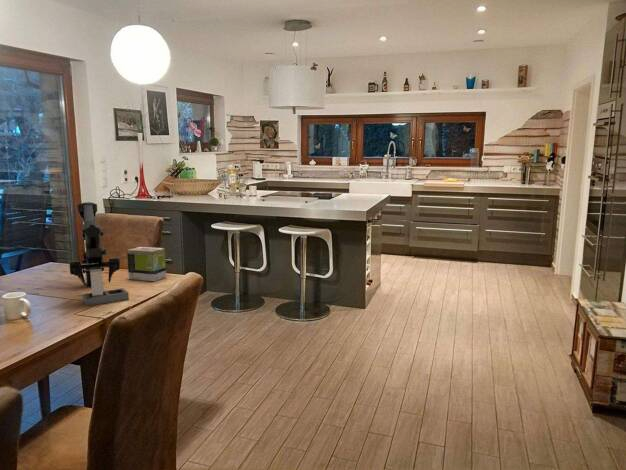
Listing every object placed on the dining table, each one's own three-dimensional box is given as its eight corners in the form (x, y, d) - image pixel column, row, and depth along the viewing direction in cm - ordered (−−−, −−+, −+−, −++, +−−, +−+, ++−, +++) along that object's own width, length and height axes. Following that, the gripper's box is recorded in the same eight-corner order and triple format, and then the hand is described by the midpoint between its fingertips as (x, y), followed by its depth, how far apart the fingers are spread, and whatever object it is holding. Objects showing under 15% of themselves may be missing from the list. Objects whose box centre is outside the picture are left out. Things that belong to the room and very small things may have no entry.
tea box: (166, 277, 237) (165, 247, 235) (153, 282, 228) (152, 251, 225) (141, 274, 242) (139, 245, 239) (127, 279, 232) (126, 249, 230)
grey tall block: (92, 301, 197) (90, 267, 195) (103, 299, 199) (100, 266, 197) (93, 303, 193) (90, 269, 191) (103, 302, 195) (101, 268, 193)
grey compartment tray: (82, 301, 196) (82, 294, 196) (123, 295, 206) (122, 288, 205) (87, 306, 190) (86, 299, 190) (128, 299, 200) (128, 292, 199)
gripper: (67, 242, 191) (70, 275, 184) (118, 238, 200) (122, 270, 192) (68, 257, 200) (71, 290, 192) (117, 253, 208) (121, 284, 200)
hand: (97, 283), depth 194 cm, fingers open, 9 cm apart
